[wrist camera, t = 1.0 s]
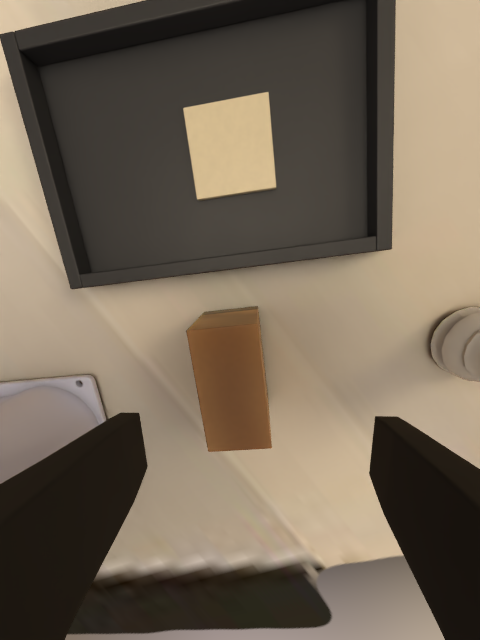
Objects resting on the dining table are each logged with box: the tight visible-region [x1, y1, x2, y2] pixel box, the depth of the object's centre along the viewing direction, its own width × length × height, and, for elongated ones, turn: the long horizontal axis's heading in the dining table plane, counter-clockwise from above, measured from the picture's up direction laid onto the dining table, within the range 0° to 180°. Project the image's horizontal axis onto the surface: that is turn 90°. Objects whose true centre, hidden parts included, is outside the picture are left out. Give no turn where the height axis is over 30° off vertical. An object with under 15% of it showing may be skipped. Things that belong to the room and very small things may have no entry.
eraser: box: [186, 306, 272, 452], centre depth 16 cm, size 4×7×4 cm, turn 7°
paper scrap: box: [183, 92, 276, 201], centre depth 14 cm, size 4×4×1 cm
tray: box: [0, 0, 396, 289], centre depth 14 cm, size 19×13×2 cm
